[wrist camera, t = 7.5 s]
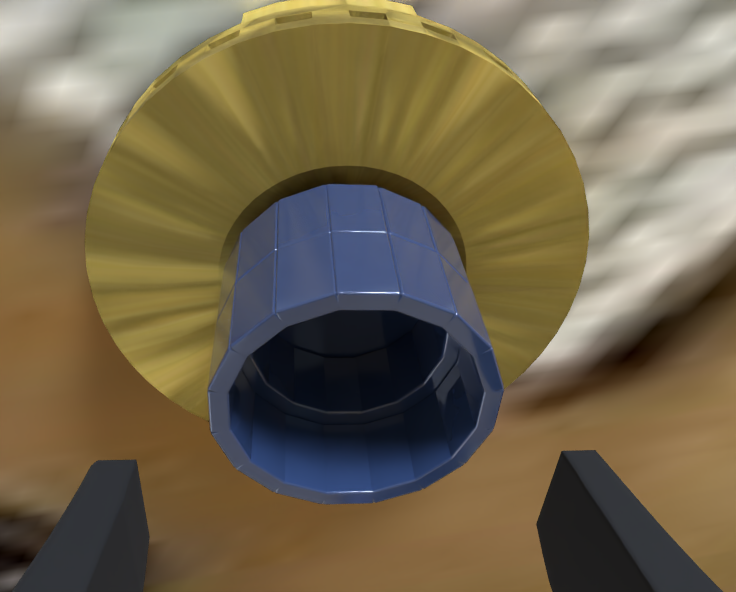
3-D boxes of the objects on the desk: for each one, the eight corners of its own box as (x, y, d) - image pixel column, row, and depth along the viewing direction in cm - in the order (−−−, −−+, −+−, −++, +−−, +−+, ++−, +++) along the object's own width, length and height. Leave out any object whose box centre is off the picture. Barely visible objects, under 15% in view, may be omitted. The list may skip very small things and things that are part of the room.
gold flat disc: (649, 205, 19) (684, 247, 18) (357, 446, 24) (363, 499, 22) (306, -137, 14) (309, -125, 12) (17, 261, 19) (-11, 311, 17)
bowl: (229, 365, 18) (215, 508, 15) (220, 169, 15) (199, 291, 12) (440, 364, 19) (475, 501, 15) (475, 177, 16) (529, 294, 12)
